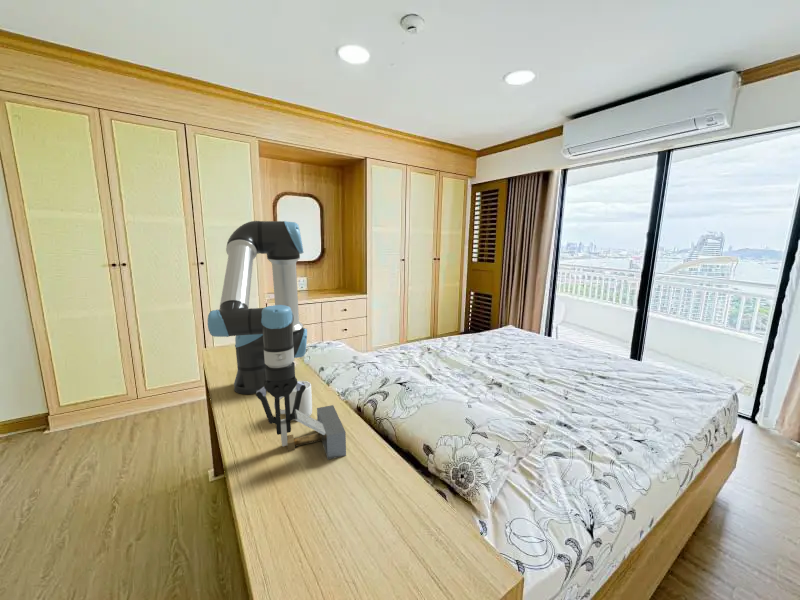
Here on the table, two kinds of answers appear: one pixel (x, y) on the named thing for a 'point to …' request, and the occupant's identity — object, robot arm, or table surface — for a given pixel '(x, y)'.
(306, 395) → the mug
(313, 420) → the tab
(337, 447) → the block
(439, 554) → the table surface
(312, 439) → the lynch pin
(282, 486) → the table surface
